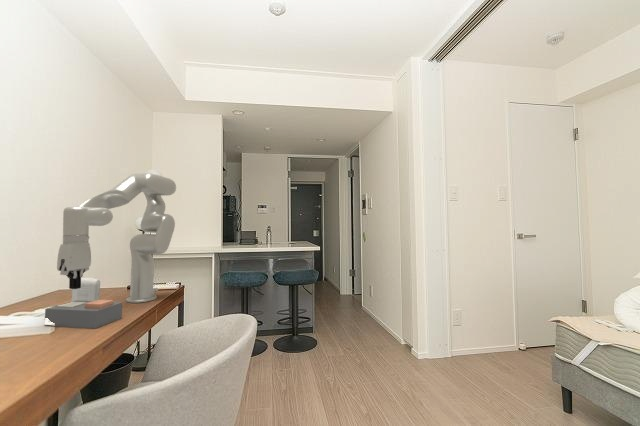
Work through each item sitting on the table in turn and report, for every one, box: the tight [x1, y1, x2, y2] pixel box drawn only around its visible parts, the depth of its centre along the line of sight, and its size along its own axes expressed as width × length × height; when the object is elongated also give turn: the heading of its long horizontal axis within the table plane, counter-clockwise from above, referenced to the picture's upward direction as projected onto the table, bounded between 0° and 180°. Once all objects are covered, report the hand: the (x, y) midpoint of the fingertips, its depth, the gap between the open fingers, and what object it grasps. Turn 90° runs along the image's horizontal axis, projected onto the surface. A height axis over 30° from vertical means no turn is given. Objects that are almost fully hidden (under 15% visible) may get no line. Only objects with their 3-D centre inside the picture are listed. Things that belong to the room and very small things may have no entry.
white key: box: [56, 301, 87, 308], centre depth 111 cm, size 6×6×4 cm
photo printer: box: [70, 277, 101, 302], centre depth 131 cm, size 10×4×12 cm, turn 98°
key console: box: [44, 300, 123, 329], centre depth 110 cm, size 12×20×6 cm, turn 85°
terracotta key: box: [85, 299, 114, 309], centre depth 110 cm, size 6×6×4 cm
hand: (75, 288), depth 112 cm, fingers closed
